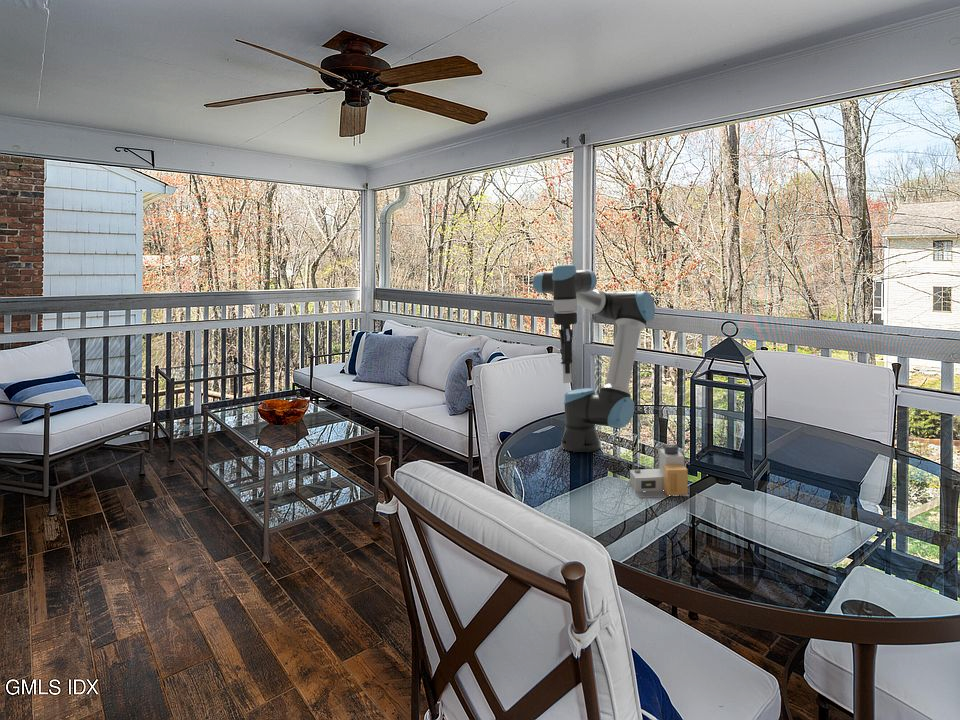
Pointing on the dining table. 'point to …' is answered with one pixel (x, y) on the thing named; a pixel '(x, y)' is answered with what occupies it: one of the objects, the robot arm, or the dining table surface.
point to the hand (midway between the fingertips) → (567, 382)
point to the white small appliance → (655, 474)
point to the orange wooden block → (675, 479)
